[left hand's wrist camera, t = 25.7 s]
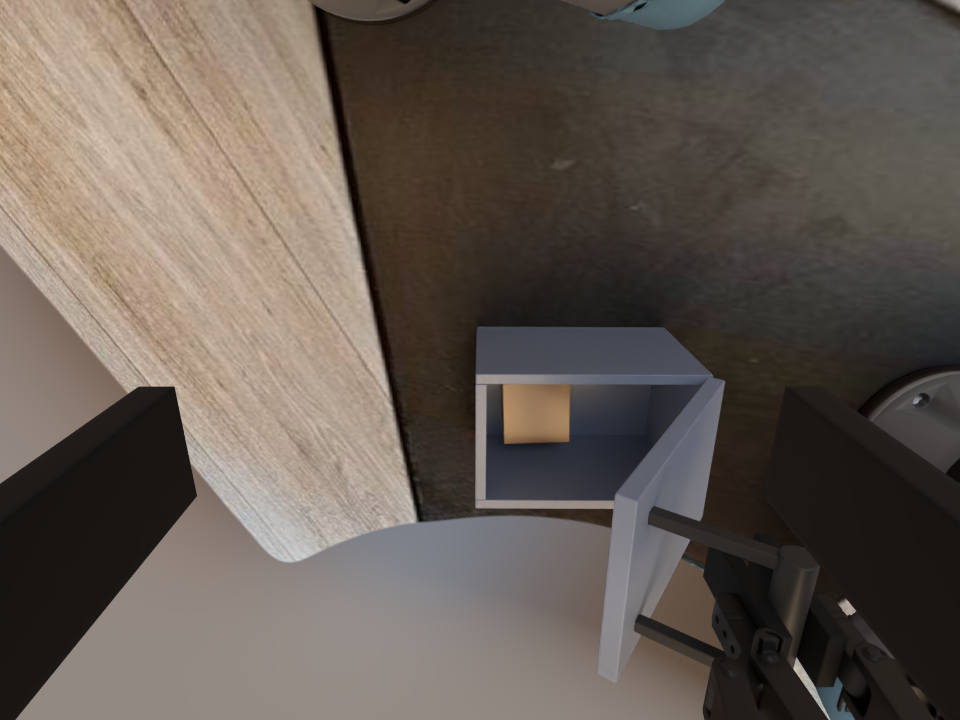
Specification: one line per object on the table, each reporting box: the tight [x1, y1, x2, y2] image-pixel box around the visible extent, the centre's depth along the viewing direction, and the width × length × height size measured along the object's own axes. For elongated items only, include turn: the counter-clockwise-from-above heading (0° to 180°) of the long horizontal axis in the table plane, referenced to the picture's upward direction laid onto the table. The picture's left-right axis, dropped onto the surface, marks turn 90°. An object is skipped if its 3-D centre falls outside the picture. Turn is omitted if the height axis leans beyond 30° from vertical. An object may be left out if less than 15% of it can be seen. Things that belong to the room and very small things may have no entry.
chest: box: [475, 327, 713, 509], centre depth 45 cm, size 16×11×11 cm
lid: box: [597, 378, 820, 683], centre depth 31 cm, size 17×11×8 cm
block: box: [501, 384, 571, 444], centre depth 47 cm, size 5×5×5 cm
